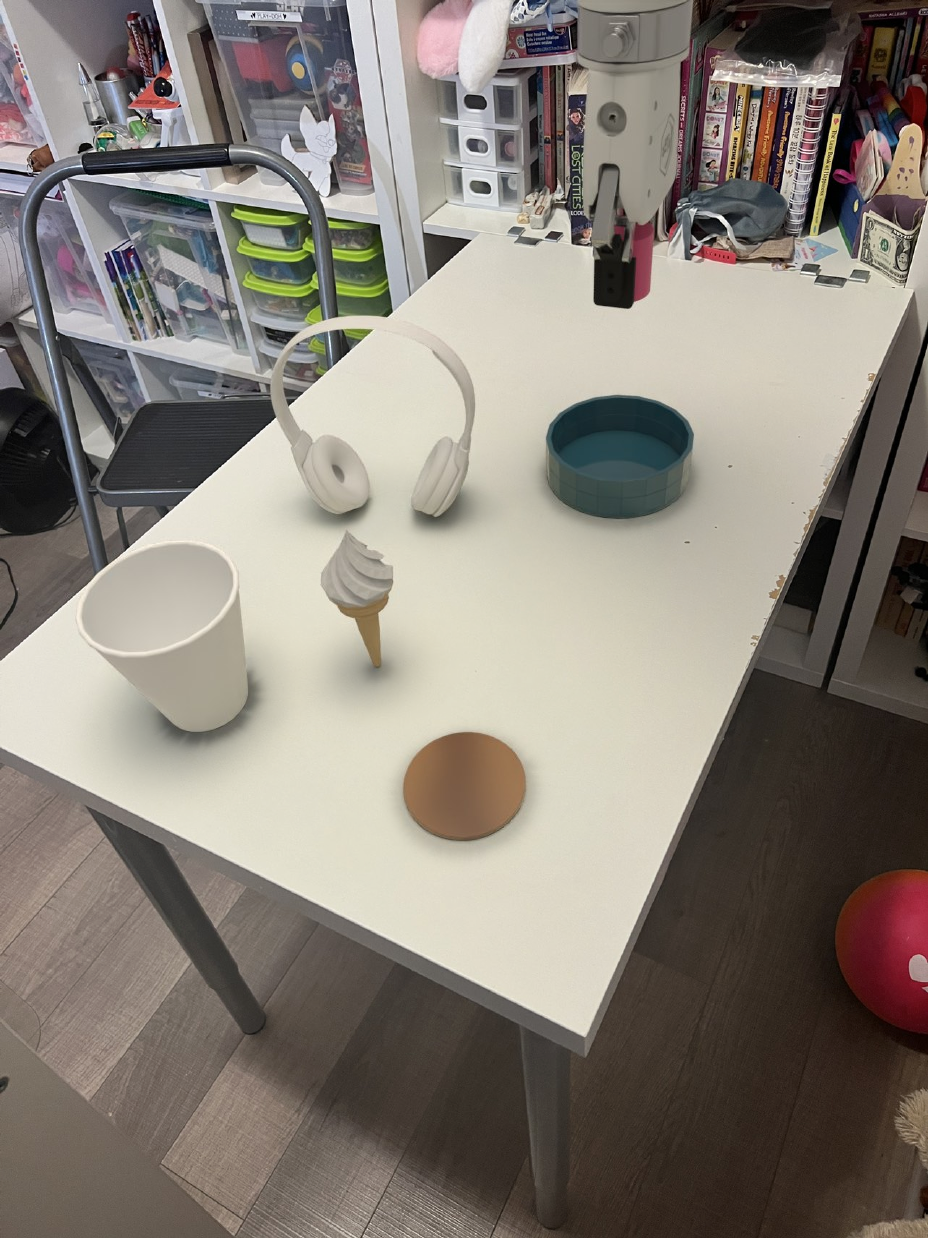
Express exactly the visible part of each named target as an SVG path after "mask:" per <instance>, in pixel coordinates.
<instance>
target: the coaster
mask: <svg viewBox="0 0 928 1238" xmlns="http://www.w3.org/2000/svg"><path fill="white" fill-rule="evenodd" d="M526 783H527V781H526V774H525V769H524V765H523V764H522V761H521V759H520V758H519V757H518V755H517V753H516V752H515V751H514V750H513V749H512V748H511V747H510V746H509V745H508V744H506V743H505V742H504V741H502V740H500V739H499V738H497V737H494V736H491V735H489V734H485V733H482V732H474V731H462V732H461V731H460V732H454V733H450V734H446V735H444V736H441V737H439V738H436V739H435V740H433V741H431V742H429V743H427V744H426V745H425V746H424V747H422V748H421V749H420V750H419V751H418V752H417V753H416V754H415V755H414V757H413V758H412V759H411V761H410V763H409V765H408V767H407V769H406V771H405V774H404V778H403V796H404V800H405V804H406V807H407V809H408V812H409V813H410V815H411V817H412V818H413V819H414V820H415V822H416V823H417V824H418V825H419V826H420V827H422V828H423V829H424V830H426V831H427V832H429V833H431V834H433V835H434V836H437V837H440V838H443V839H446V840H452V841H471V840H476V839H481V838H484V837H488V836H489V835H492V834H494V833H496V832H497V831H499V830H501V829H502V828H504V827H505V826H506V825H507V824H509V822H511V820H512V819H513V818H514V817H515V816H516V814H517V813H518V812H519V810H520V808H521V806H522V804H523V802H524V798H525V796H526V795H525V794H526V789H527V788H526V786H527V785H526Z"/></svg>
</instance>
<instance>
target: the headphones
mask: <svg viewBox="0 0 928 1238" xmlns="http://www.w3.org/2000/svg"><path fill="white" fill-rule="evenodd" d="M356 329H358V330H373V331H374V330H376V331H381V332H382V331H383V332H387V333H391V334H396V335H399V336H402V337H406V338H408V339H411V340H413V341H415V342H418V343H419V344H422V345H423V346H425V347H427V348H428V349H430V350H431V351H432V355H433V356H434V357H435V358H436V359H437V360H438V361H439V362H440V363H441V364H442V365H443V366H444V367H445V368H446V369H447V371H449V373H450V374H451V376H452V377H453V379H454V380H455V382H456V384H457V385H458V388H459V389H460V392H461V395H462V398H463V402H464V409H465V423H464V429H463V433H462V434H461V436H460V438H459V439H458V442H456V441H453V439H452V437H450V436H443V437H441V438H440V439H439V440H437V442H436V443H435V444H434V446H433V447H432V449H431V450H430V452H429V453H428V456H427V458H426V459H425V462H424V464H423V465H422V468H421V470H420V473H419V474H418V477H417V480H416V482H415V485H414V487H413V489H412V490H413V491H412V494H411V499H410V506H411V507H412V509H414V510H415V511H419V512H420V511H421V513H424V514H426V515H432V517H434V518H437V517H439V516H441V515H442V514H443V513H444V512H446V511H447V510H448V509H449V508H450V507H451V506H452V504H453V503H454V501H456V498H457V496H458V495H459V493H460V491H461V489H462V487H463V484H464V483H465V480H466V478H467V474H468V470H469V465H470V451H471V445H472V436H471V435H472V431H473V428H474V427H473V426H474V422H475V416H476V415H475V414H476V393H475V388H474V383H473V380H472V378H471V375H470V373H469V370H468V369H467V367H466V365H465V363H464V362H463V360H462V359H461V357H460V356H459V355H458V354H457V352H456V351H455V350H454V349H453V348H452V347H451V346H449V344H448V343H446V342H445V341H443V340H442V339H441V338H440V337H439V336H437V335H435V334H433V333H432V332H431V331H428V330H427V329H424V328H422V327H421V326H418V325H416V324H414V323H411V322H407V321H404V320H401V319H397V318H393V317H386V316H379V315H378V316H377V315H347V316H337V317H333V318H328V319H324V320H321V321H319V322H318V321H317V322H316V323H314V324H311V325H309V326H307V327H305V328H303V329H302V330H301V331H299V332H298V333H297V334H295V335H294V336H293V337H292V338H291V339H290V340H289V341H288V342H287V343H286V344H285V346H284V348H283V349H282V350H281V352H280V353H279V355H278V357H277V360H276V361H275V364H274V367H273V369H272V373H271V376H270V384H269V385H270V386H269V387H270V389H269V390H270V391H269V392H270V400H271V406H272V408H273V412H274V415H275V418H276V421H277V423H278V424H279V426H280V428H281V430H282V432H283V434H284V436H285V437H286V439H287V441H288V442H289V444H290V450H291V454H292V457H293V461H294V463H295V465H296V468H297V470H298V473H299V474H300V477H301V479H302V482H303V484H304V486H305V488H306V489H307V491H308V493H309V494H310V496H311V498H313V500H314V501H315V502H316V503H317V504H318V505H319V506H320V507H321V508H322V509H324V510H326V512H329V513H332V514H336V515H340V514H341V515H342V514H345V513H346V512H350V511H352V510H354V509H359V508H361V507H363V506H364V505H365V504H366V503H367V501H368V499H369V496H370V491H371V485H370V479H369V474H368V471H367V468H366V467H365V464H364V462H363V461H362V459H361V458H360V455H359V454H358V453H357V452H356V451H355V450H354V448H353V447H352V446H351V445H350V444H348V443H347V441H344V440H343V439H342V438H339V437H338V436H334V435H331V434H323V435H321V436H319V437H318V438H317V439H315V441H314V442H313V438H312V437H311V435H310V434H309V433H308V432H307V431H305V430H304V429H302V430H301V428H300V426H299V424H298V423H297V421H296V419H295V417H294V416H293V414H292V412H291V409H290V407H289V404H288V401H287V398H286V395H285V394H286V393H285V389H284V372H285V368H286V364H287V361H288V360H289V358H290V357H291V356H292V354H293V353H294V351H295V348H296V346H297V345H298V344H299V343H300V342H302V341H305V340H306V339H308V338H310V337H312V336H316V335H319V334H322V333H326V332H330V331H336V330H337V331H338V330H339V331H340V330H356Z"/></svg>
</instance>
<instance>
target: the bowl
mask: <svg viewBox="0 0 928 1238" xmlns="http://www.w3.org/2000/svg"><path fill="white" fill-rule="evenodd" d="M694 440H695V433H694V430H693V428H692V426H691V424H690V422H689V420H688V419H687V418H686V417H685V416H683V414H681V413H680V412H679V411H678V410H677V409H676V408H673V407H672V406H669V405H668V404H665V403H663V402H662V401H660V400H656V399H652V398H649V397H644V396H639V395H628V394H611V395H602V396H595V397H594V396H593V397H591V398H588V399H585V400H581V401H578V402H576V403H574V404H572V405H570V406H568V407H567V408H565V409H563V410H562V411H560V412H559V413H558V414H557V415H556V416H555V418H554V419H552V421H551V422H550V423H549V424H548V429H547V432H546V435H545V460H546V462H545V466H546V467H545V468H546V470H545V471H546V475H547V482H548V485H549V487H550V489H551V491H552V492H553V494H554V495H555V496H556V497H557V498H558V499H559V500H560V501H561V502H562V503H564V504H565V505H567V506H568V507H570V508H572V509H573V510H576V511H578V512H581V513H584V514H586V515H589V516H594V517H598V518H599V517H600V518H604V519H605V518H606V519H629V518H630V519H631V518H638V517H642V516H647V515H650V514H651V515H652V514H654V513H657V512H659V511H661V510H663V509H665V508H667V507H668V506H670V505H672V504H673V503H674V502H675V501H677V500H678V499H679V498H680V497H681V496H682V494H683V493H684V491H685V490H686V488H687V486H688V483H689V479H690V474H691V473H690V472H691V466H692V465H691V463H692V457H693V451H694V449H693V448H694Z"/></svg>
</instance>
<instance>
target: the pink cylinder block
mask: <svg viewBox="0 0 928 1238" xmlns="http://www.w3.org/2000/svg"><path fill="white" fill-rule="evenodd" d="M624 230H625V227H620V226H614V231H615V234H620V235H621V237H622V240H624ZM654 239H655V228H654V225H651V224H650V223H649V222H647V223H646V224H644V225H638V222H636V224H635V234H634V243H633V253H632V257H636V275H635V294H634V303H635V302H638V301H641V300H643V299H645V298H646V297H647V296H649V294H650V292H651V285H652V269H653V268H652V267H653V254H654Z"/></svg>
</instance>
